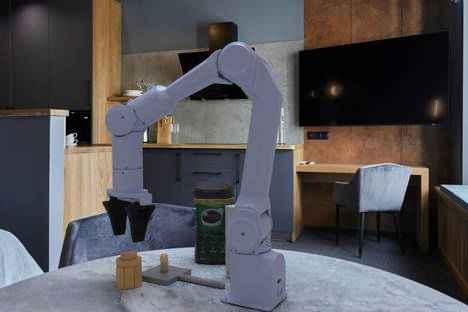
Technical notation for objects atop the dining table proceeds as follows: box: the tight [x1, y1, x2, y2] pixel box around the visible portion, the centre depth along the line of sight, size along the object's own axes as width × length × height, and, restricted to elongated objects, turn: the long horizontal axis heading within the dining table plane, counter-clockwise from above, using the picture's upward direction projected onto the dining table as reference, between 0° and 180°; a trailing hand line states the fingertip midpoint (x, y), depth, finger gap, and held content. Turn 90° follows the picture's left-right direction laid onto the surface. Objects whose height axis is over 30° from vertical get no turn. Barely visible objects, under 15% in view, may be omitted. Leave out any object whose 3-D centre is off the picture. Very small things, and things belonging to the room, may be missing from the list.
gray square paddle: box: [142, 253, 226, 289], centre depth 79 cm, size 19×8×4 cm, turn 61°
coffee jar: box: [192, 181, 235, 265], centre depth 93 cm, size 10×8×19 cm
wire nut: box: [115, 250, 143, 290], centre depth 77 cm, size 5×5×6 cm
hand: (128, 238), depth 77 cm, fingers open, 7 cm apart
